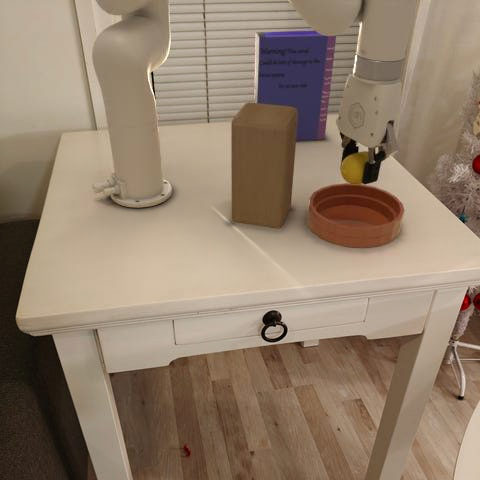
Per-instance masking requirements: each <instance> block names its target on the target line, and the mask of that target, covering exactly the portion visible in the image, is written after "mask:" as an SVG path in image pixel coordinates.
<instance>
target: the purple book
mask: <svg viewBox="0 0 480 480" xmlns="http://www.w3.org/2000/svg"><path fill="white" fill-rule="evenodd" d="M254 40H255V44H254V47H255V48H254V80H253V83H254V85H253V86H254V87H253V103H260V104H270V105H280V106H290V107H294V108H297V111H298V123H297V136H296V142H310V141H311V142H312V141H325V140H326V139H325V138H326V129H327V122H328V121H327V120H328V113H329V103H330V95H331V86H332V79H333V78H332V77H333V69H334V59H335V52H336V51H335V50H336V41H337V35H335V36H325V35H322V34H319V33H317V32H316V31H314V30H288V31H287V30H285V31H282V30H281V31H280V30H279V31H255V39H254Z"/></svg>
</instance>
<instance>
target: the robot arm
mask: <svg viewBox="0 0 480 480" xmlns="http://www.w3.org/2000/svg"><path fill="white" fill-rule="evenodd" d="M287 1H288V2H289V4H290V5H291V6H292V7H293V9H294V10H295V12H297V14H298V15H299V16H300V17H301V19H302V20H303V21H304V22H305V24H306V25H307V26H308V27H309V28H310V29H311V30H312V31H316V32H317V33H319V34H322V35H325V36H335V35H336V36H338V35H341V34H343V33H344V32H346V31H347V30H348V29H349V28H350V27H351V26H352V25H353V24H354V23H356V24H359V31H358V36H357V44H356V50H355V53H354V56H353V59H354V63H353V69H352V70H351V71H350V72H349V74H348V76H347V78H346V82H345V84H344V85H345V86H344V88H343V91H342V95H341V101H340V105H339V111H338V116H337V118H336V119H335V124H336V128H337V129H338V131H339V136H340V139H341V144H340V146H341V148H342V155H341V160H340V165H341V164H342V162H343V160H344V159H345V158H346V157H347V156H349V155H351V154H354V153H359V152H360V146H359V145H358V143H359V144H360V145H362V146H364V147H366V148H367V152H368V160H369V161H368V162H366V163H365V167H364V172H363V177H362V183H363V184H362V185H369V184H372V183H376V182H377V181H378V180H379V176H380V170H381V166H382V162H385V161H386V159H388V158H390V156H394V155H395V154H396V153H398V152H399V150H400V148H399V144H398V141H397V138H396V134H397V133H396V132H397V129H398V123H399V118H400V112H401V105H402V90H403V88H402V87H403V85H402V83H403V82H402V81H401V78H402V74H403V69H404V64H405V59H406V55H407V50H408V45H409V41H410V36H411V30H412V27H413V20H414V16H415V11H416V6H417V3H418V0H287ZM95 2H96V4H97V5H98V6H99V8H100V9H101V10H102V11H104V12H105V13H106V14H108V15H112V16H120V17H121V20H119V21H117V22H115V23H114V24H111V25H109V26H108V27H106V28H104V29H103V30H102V31H101V32H100V33H99V34H98V35H97V37H96V38H95V40H94V42H93V46H92V52H91V59H92V65H93V69H94V72H95V75H96V79H97V81H98V84H99V88H100V92H101V95H102V100H103V107H104V110H105V111H104V112H105V117H106V123H107V130H108V137H109V143H110V150H111V155H112V162H113V163H112V164H113V168H114V172H111V173H110V178H107V180H106V181H100V182H96V183H95V182H94V183H93V184H92V189H93V192H94V193H95V194H100V193H103V195H104V196H105V197H107V196H110V198H111V200H112V201H113V202H114V203H115V204H118V205H120V206H123V207H127V208H148V207H153V206H157V205H159V204H162V203H164V202H165V201H167V200H168V199H169V198H171V196H172V193H173V189H172V185H171V183H170V182H169V181H167V180H166V179H165V178H164V171H163V162H162V151H161V150H162V149H161V142H160V141H161V140H160V128H159V127H160V126H159V117H158V108H157V101H156V97H155V93H154V90H153V88H152V85H151V81H150V74H151V73H152V72H154V71H155V70H156V69H158V68H160V66H161V65H163V64H164V63H165V61H166V60H167V59H168V56H169V53H170V50H171V49H170V48H171V19H170V0H95ZM376 148H377V152H376ZM339 170H340V171H341V166H340V167H339Z"/></svg>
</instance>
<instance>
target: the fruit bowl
mask: <svg viewBox="0 0 480 480" xmlns="http://www.w3.org/2000/svg"><path fill="white" fill-rule="evenodd" d="M307 206H308V207H307V216H306V217H307V220H306V224H307V226H308V227H309V229H310V231H311V232H312V233H313V234H315V235H316V236H317V237H318V238H320V239H322V240H324V241H326V242H329V243H331V244H333V245H337V246H342V247H347V248H357V249H361V248H362V249H367V248H375V247H380V246H383V245H386V244H389V243H391V242H392V241H393V240H395V239H396V238H397V237H398V236H399V234H400V231H401V228H402V225H403V224H402V223H403V220H404V215H405V207H404V204H403V202H402V201H401V200H400V199H399V198H398V197H397V196H395V195H394V194H392V193H390V192H389V191H387V190H384V189H381V188H379V187H376V186H372V185H368V184H365V185H364V184H359V185H356V186H355V185H353V184H351V183H348V182H346V183H335V184H334V183H333V184H330V185H326V186H323V187H320V188H319V189H317V190H316V191H313V192H312V194H311V196H310V197H309V198H308V205H307Z"/></svg>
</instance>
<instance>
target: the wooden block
mask: <svg viewBox="0 0 480 480" xmlns="http://www.w3.org/2000/svg"><path fill="white" fill-rule="evenodd" d="M297 123H298V111H297V108H294V107H290V106H280V105H270V104H260V103H254V102H250V101H249V102H246V103H244V104H243V106H242V107H241V109H240V110H239V111H238V112H237V113H236V115H234V117H233V118H232V121H231V123H230V124H231V125H230V127H231V128H230V129H231V131H230V132H231V136H230V137H231V139H230V140H231V145H230V146H231V147H230V148H231V163H230V165H231V220H232V222H234V223H240V224H247V225H254V226H261V227H266V228H274V229H280V228H282V226H283V225H284V222H285V220H286V217H287V215H288V213H289V211H290V209H291V207H292V200H293V188H294V187H293V186H294V173H295V159H296V149H297V148H296V147H297V146H296V145H297V141H296V136H297Z"/></svg>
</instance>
